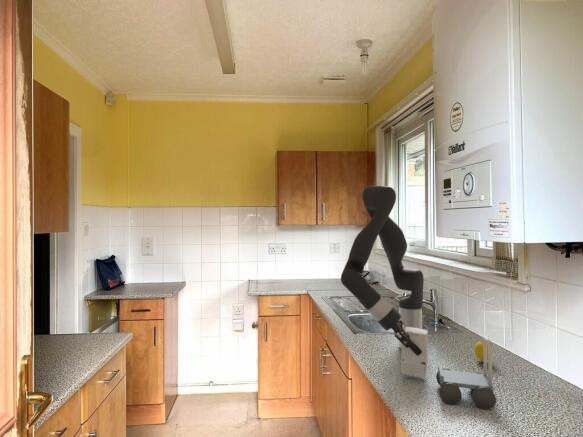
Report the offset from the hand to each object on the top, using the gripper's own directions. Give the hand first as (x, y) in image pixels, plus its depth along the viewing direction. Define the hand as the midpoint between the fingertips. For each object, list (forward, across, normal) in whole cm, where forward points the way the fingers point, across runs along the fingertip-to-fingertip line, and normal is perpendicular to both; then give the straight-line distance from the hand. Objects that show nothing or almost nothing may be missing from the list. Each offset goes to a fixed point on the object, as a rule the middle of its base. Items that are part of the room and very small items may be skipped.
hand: (419, 350), depth 127 cm
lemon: (+24, +22, -9) cm, 34 cm away
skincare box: (+5, 0, +7) cm, 8 cm away
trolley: (+16, -10, -2) cm, 19 cm away
